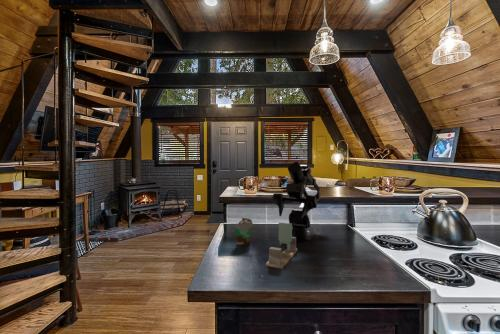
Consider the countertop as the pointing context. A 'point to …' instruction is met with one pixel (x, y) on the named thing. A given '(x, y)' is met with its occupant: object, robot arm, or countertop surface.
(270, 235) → the countertop surface
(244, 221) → the food container
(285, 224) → the grey-green notched block
